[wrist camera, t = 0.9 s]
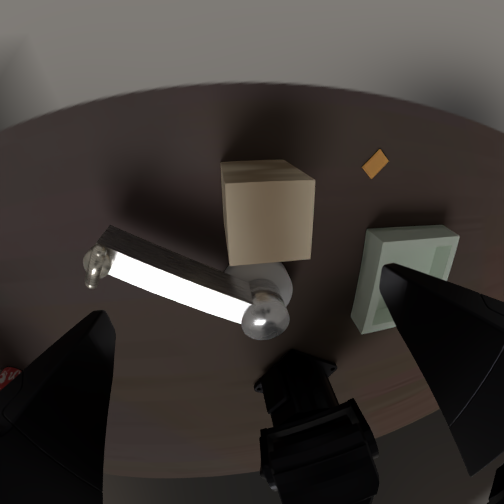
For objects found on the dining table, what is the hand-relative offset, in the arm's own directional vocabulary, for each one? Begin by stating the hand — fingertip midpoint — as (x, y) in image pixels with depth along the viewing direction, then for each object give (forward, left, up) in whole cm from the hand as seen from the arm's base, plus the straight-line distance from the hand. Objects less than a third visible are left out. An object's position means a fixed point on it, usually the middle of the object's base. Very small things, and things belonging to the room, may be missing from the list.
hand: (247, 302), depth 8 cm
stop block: (-1, -1, -11) cm, 11 cm away
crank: (0, +5, -9) cm, 11 cm away
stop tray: (-16, -3, -11) cm, 20 cm away
